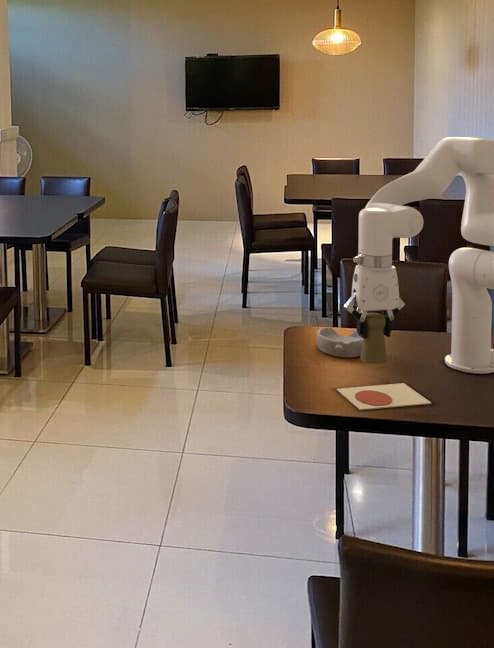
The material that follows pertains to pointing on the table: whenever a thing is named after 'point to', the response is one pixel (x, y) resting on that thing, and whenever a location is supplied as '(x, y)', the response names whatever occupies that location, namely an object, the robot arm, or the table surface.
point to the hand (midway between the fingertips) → (374, 335)
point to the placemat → (383, 396)
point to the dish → (339, 343)
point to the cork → (374, 340)
